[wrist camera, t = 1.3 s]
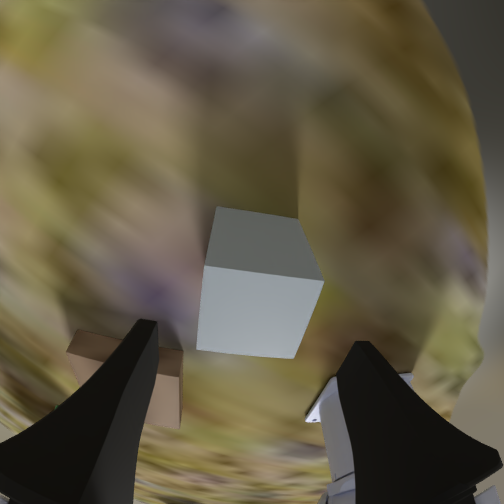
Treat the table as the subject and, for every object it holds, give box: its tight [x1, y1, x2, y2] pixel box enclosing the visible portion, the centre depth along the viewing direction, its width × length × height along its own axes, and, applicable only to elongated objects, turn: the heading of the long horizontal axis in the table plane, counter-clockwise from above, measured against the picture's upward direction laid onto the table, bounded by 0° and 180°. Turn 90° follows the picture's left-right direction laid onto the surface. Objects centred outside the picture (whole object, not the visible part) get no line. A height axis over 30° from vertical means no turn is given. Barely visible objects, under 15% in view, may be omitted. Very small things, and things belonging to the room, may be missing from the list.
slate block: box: [196, 206, 324, 359], centre depth 14 cm, size 4×4×6 cm
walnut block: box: [66, 330, 183, 429], centre depth 22 cm, size 9×9×3 cm
